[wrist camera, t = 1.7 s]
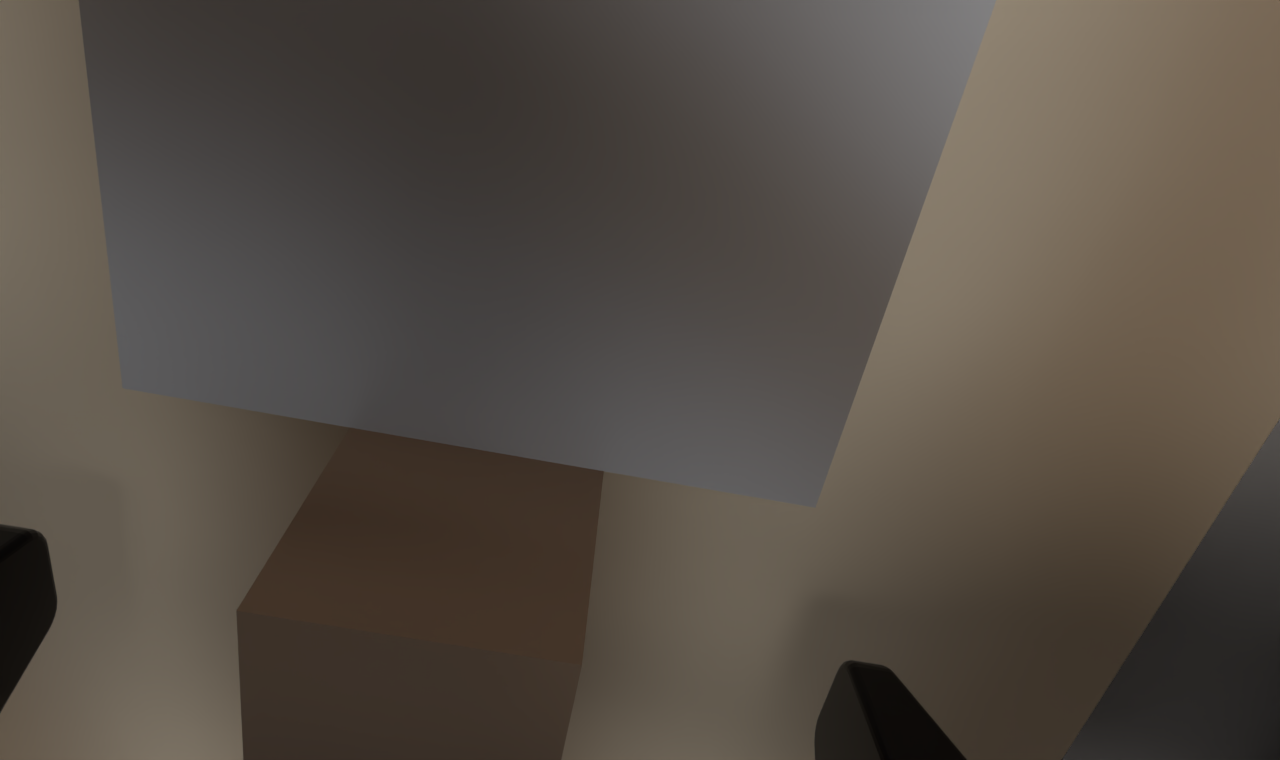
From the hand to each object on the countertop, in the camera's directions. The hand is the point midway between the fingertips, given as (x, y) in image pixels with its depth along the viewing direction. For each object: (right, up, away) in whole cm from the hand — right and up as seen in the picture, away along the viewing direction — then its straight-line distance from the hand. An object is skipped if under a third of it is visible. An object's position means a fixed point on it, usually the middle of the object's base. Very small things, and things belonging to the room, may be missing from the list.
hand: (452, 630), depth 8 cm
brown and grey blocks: (0, +2, 0) cm, 2 cm away
